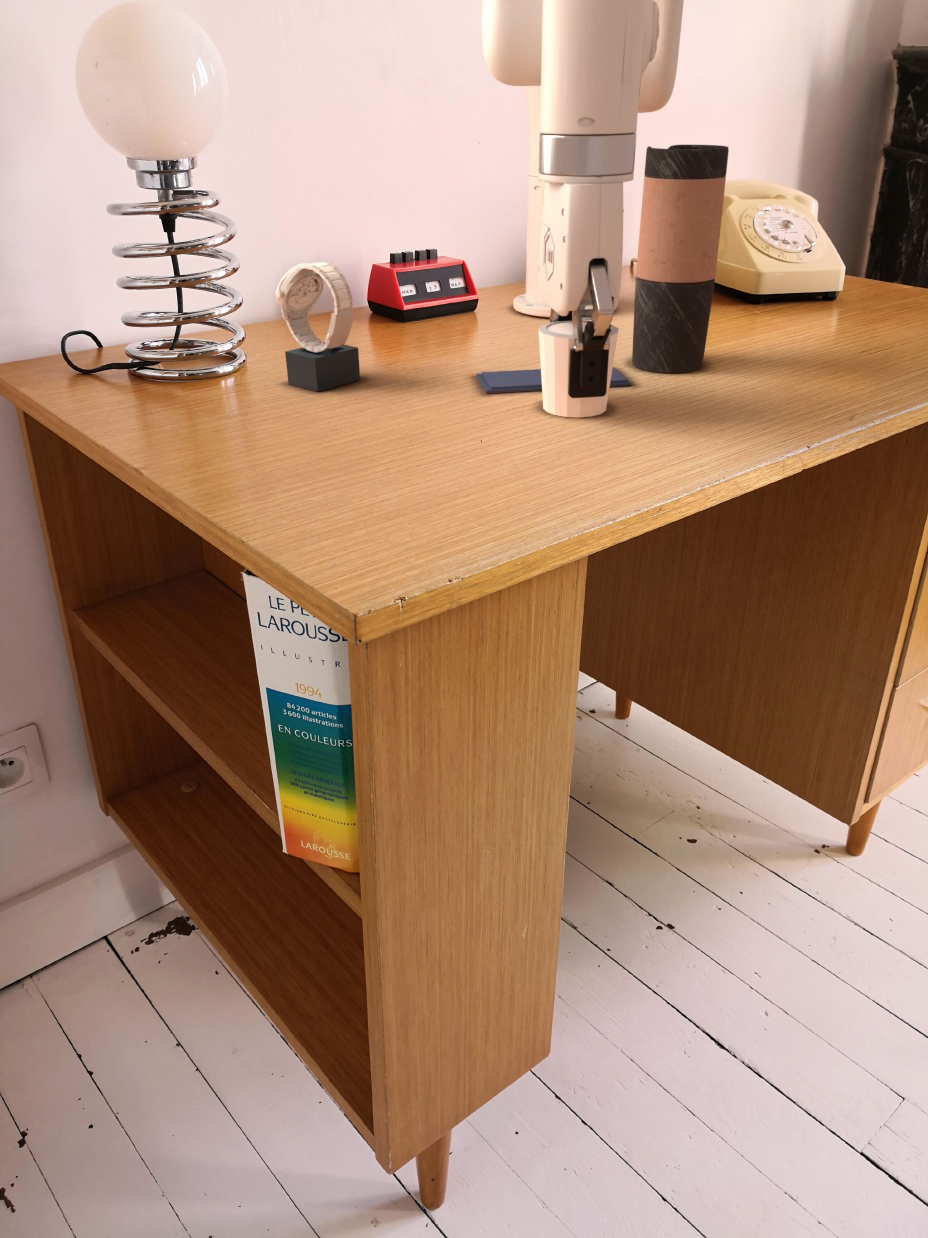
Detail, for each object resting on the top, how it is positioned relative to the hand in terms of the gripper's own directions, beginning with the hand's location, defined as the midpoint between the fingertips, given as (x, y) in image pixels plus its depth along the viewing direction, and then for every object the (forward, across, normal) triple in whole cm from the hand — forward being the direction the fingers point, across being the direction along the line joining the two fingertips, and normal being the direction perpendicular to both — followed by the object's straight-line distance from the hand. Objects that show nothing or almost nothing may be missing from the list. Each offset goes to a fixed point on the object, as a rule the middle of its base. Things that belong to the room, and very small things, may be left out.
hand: (575, 382), depth 83 cm
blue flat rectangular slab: (+2, -9, 0) cm, 9 cm away
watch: (+3, -13, -22) cm, 26 cm away
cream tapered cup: (+2, 0, 0) cm, 2 cm away
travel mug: (+3, -13, +13) cm, 18 cm away
